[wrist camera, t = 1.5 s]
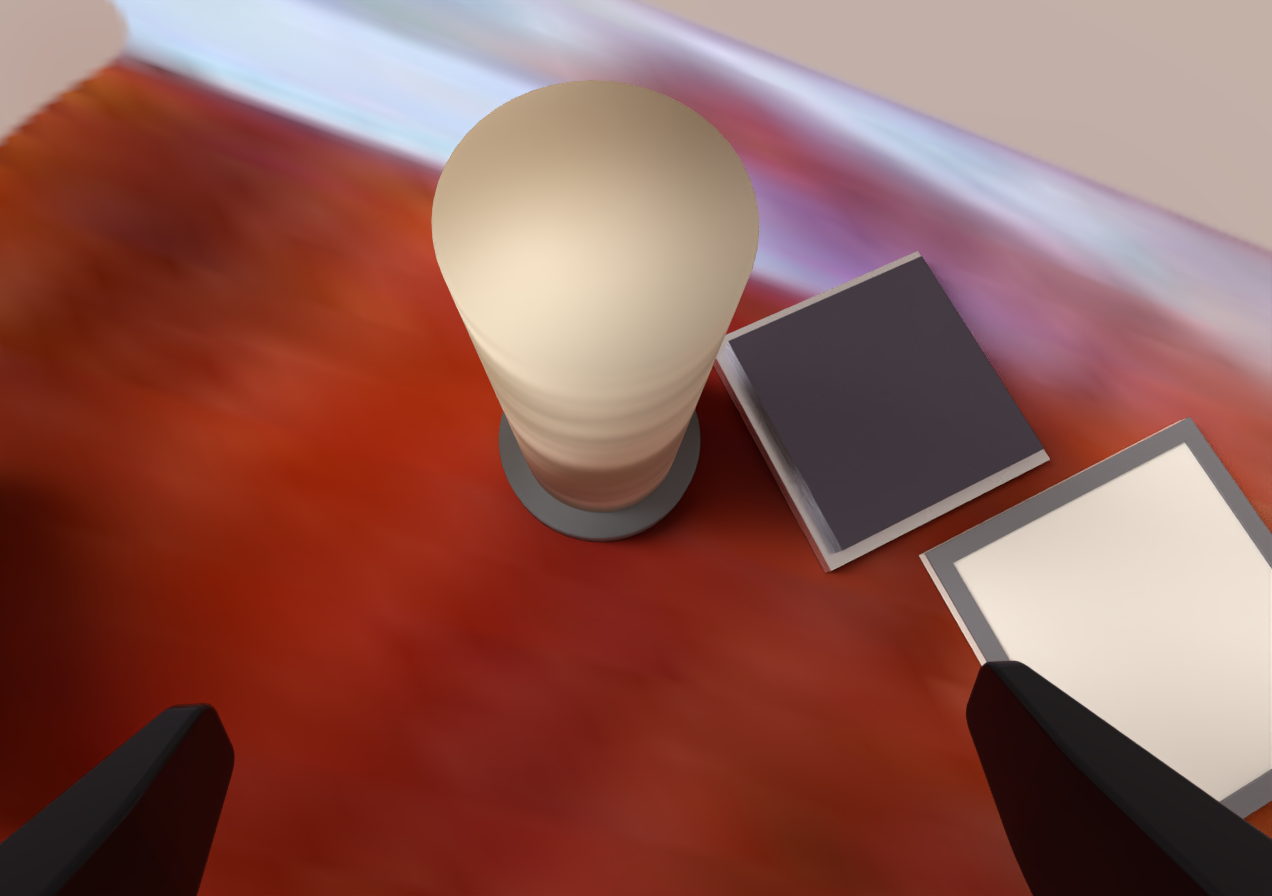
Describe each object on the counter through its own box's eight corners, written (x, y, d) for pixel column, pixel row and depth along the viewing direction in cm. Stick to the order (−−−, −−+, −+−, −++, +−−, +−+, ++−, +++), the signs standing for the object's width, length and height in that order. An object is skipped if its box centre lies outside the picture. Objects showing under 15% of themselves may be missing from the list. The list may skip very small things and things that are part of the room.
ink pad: (1038, 463, 22) (1062, 454, 21) (825, 572, 21) (837, 569, 20) (909, 260, 24) (925, 241, 23) (705, 350, 23) (711, 335, 22)
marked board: (1381, 717, 21) (1399, 719, 20) (1109, 888, 19) (1122, 895, 19) (1177, 421, 23) (1189, 417, 23) (918, 555, 22) (925, 553, 21)
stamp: (728, 491, 22) (885, 313, 10) (552, 575, 21) (481, 495, 9) (644, 329, 23) (690, -8, 11) (474, 402, 22) (318, 122, 10)
